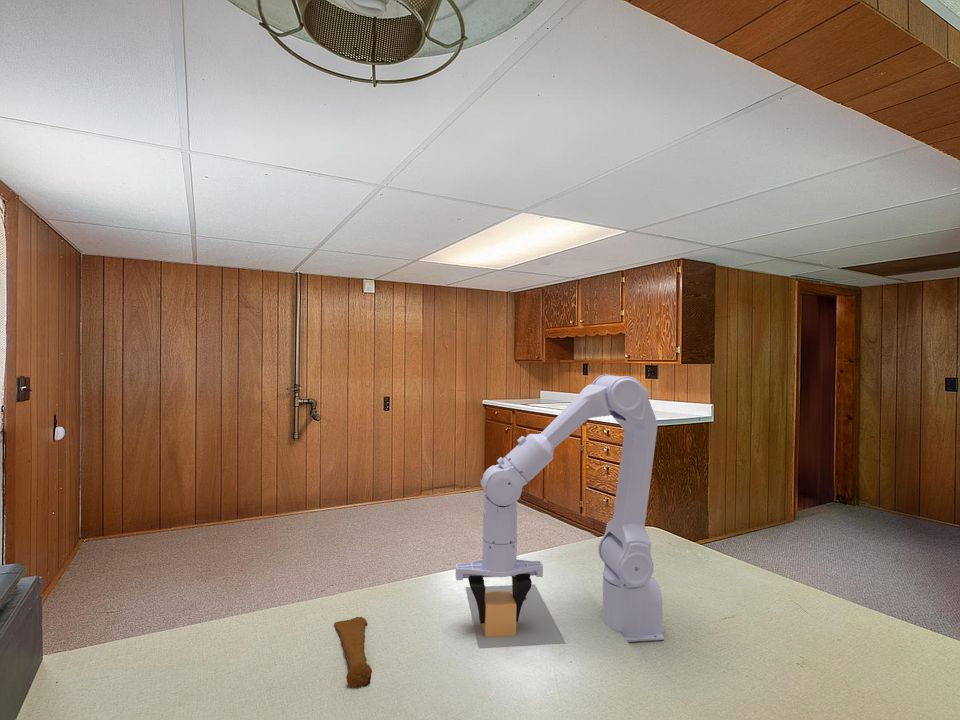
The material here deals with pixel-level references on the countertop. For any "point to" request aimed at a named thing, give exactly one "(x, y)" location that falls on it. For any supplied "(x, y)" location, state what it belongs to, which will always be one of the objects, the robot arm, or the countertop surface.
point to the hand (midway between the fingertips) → (498, 619)
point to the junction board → (519, 622)
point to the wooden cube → (499, 614)
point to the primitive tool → (354, 650)
